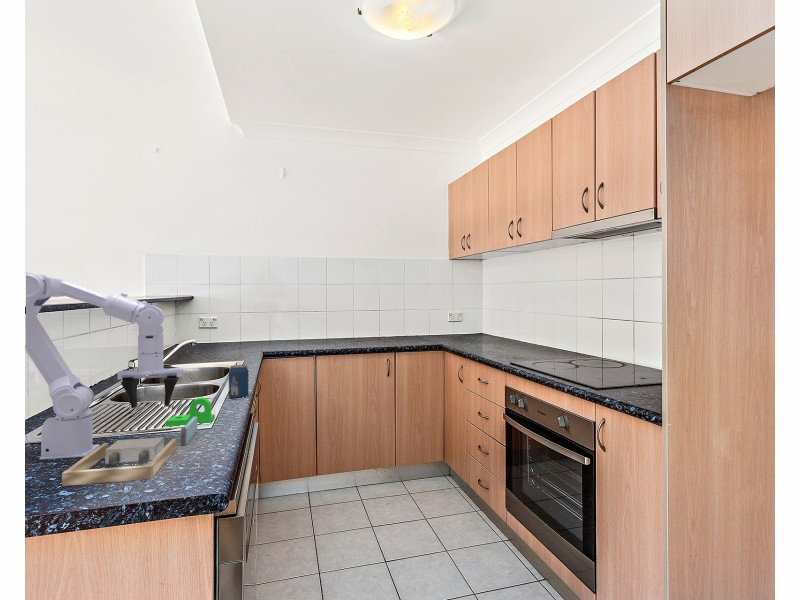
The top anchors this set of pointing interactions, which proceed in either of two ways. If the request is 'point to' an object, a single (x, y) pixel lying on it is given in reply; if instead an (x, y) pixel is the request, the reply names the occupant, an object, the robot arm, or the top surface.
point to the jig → (84, 476)
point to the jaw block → (134, 449)
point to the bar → (191, 428)
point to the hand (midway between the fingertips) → (150, 406)
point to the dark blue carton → (238, 381)
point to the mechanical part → (193, 414)
